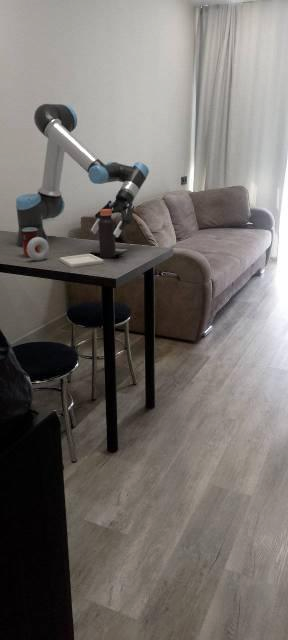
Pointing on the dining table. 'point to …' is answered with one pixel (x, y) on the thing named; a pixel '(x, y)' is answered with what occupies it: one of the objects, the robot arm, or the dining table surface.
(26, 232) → the soda can
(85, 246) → the dining table surface
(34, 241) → the donut
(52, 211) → the robot arm
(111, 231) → the vinegar
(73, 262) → the tray
